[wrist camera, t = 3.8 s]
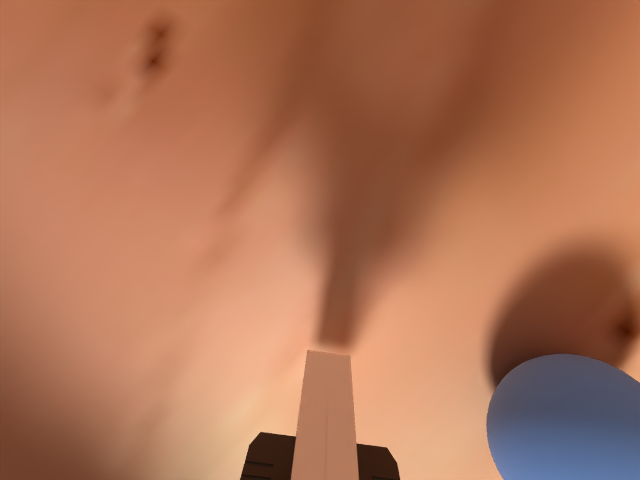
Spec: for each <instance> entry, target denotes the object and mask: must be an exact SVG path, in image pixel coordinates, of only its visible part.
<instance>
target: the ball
mask: <svg viewBox="0 0 640 480" xmlns="http://www.w3.org/2000/svg"><path fill="white" fill-rule="evenodd" d="M487 438H488V443H489V447H490V451H491V455H492V457H493V460H494V462H495V465H496V467H497V469H498V471H499V473H500V474H501V476H502V478H503V479H504V480H640V383H639V382H638V381H636V380H635V379H633V378H632V377H631V376H629V375H628V374H626V373H625V372H623V371H622V370H620V369H618V368H616V367H614V366H612V365H610V364H608V363H606V362H603V361H600V360H597V359H594V358H590V357H586V356H581V355H574V354H551V355H544V356H540V357H536V358H533V359H530V360H528V361H525V362H524V363H522V364H520V365H518V366H517V367H515V368H514V369H512V370H511V371H510V372H509V373H508V374H507V375H506V376H505V377H504V378H503V379H502V380H501V382H500V383H499V385H498V386H497V388H496V389H495V391H494V393H493V395H492V398H491V400H490V403H489V408H488V413H487Z"/></svg>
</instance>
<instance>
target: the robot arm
mask: <svg viewBox="0 0 640 480" xmlns="http://www.w3.org/2000/svg"><path fill="white" fill-rule="evenodd" d="M240 480H400V476H399V471H398V465H397V462H396V461H395V459H394V458H393V456H392V455H391V453H390V452H389V450H388V449H387V448H386V447H379V446H371V445H364V444H356V432H355V417H354V403H353V389H352V374H351V360H350V356H348V355H340V354H333V353H325V352H318V351H310V350H307V356H306V364H305V371H304V378H303V386H302V393H301V401H300V408H299V416H298V424H297V431H296V437H294V436H287V435H279V434H272V433H264V432H260V433H259V435H258V436H257V437H256V438H255V439H254V440H253V441H252V443H251V444H250V445H249V449H248V452H247V456H246V460H245V464H244V467H243V471H242V474H241V478H240Z"/></svg>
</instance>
